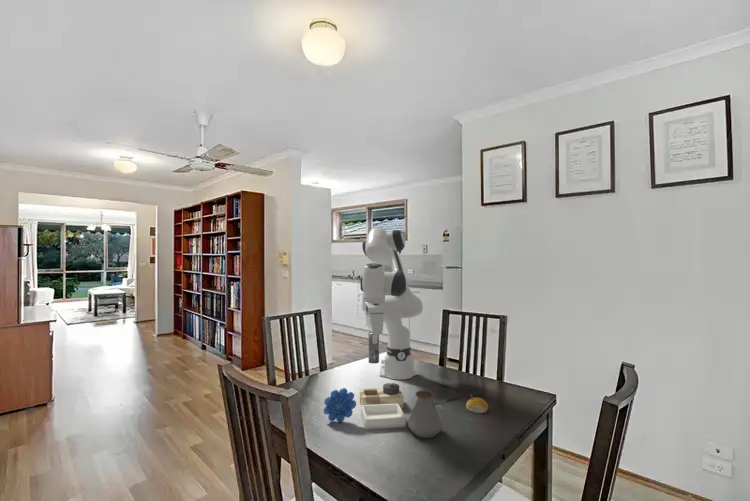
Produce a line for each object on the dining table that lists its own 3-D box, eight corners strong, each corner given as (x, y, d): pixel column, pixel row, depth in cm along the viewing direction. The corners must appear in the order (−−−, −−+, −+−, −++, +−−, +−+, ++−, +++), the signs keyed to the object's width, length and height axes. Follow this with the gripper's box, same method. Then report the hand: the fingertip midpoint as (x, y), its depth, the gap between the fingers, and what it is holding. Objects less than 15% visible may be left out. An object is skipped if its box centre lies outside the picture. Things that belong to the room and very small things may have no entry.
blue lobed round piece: (357, 417, 135) (357, 384, 136) (355, 425, 129) (355, 391, 129) (325, 416, 136) (326, 383, 136) (321, 424, 130) (322, 389, 130)
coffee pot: (404, 437, 121) (404, 391, 121) (411, 422, 132) (412, 380, 132) (471, 448, 114) (472, 399, 115) (473, 432, 125) (474, 387, 126)
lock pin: (367, 361, 144) (367, 332, 144) (378, 360, 144) (378, 332, 145) (369, 363, 140) (369, 334, 140) (379, 363, 140) (379, 333, 141)
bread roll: (488, 406, 148) (488, 396, 148) (487, 415, 140) (487, 404, 140) (467, 403, 151) (467, 393, 151) (464, 411, 142) (465, 401, 142)
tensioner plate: (359, 401, 150) (359, 381, 150) (398, 399, 153) (398, 379, 153) (362, 410, 141) (362, 389, 141) (403, 408, 144) (403, 387, 144)
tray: (360, 414, 138) (361, 405, 138) (397, 412, 140) (398, 403, 140) (365, 429, 126) (365, 419, 126) (405, 427, 128) (405, 417, 128)
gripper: (362, 303, 153) (362, 337, 152) (368, 308, 132) (368, 348, 132) (377, 302, 153) (377, 336, 153) (386, 308, 133) (386, 347, 133)
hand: (373, 342), depth 142 cm, fingers closed on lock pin, 4 cm apart
